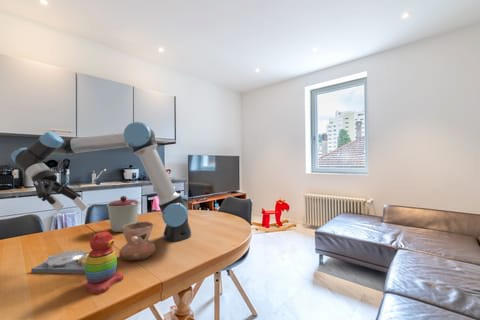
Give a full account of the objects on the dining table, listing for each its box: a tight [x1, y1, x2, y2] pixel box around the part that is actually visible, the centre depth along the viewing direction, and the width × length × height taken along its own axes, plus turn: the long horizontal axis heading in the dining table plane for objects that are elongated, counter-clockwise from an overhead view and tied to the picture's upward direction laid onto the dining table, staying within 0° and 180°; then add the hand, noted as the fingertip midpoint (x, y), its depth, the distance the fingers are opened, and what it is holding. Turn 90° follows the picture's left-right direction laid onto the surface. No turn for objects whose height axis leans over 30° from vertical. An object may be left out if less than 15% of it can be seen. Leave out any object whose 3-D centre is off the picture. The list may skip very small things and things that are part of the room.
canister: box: [106, 195, 140, 233], centre depth 136 cm, size 18×18×21 cm
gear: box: [42, 249, 89, 269], centre depth 91 cm, size 15×15×2 cm
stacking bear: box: [84, 229, 124, 295], centre depth 76 cm, size 11×10×18 cm
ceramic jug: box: [118, 221, 156, 262], centre depth 97 cm, size 18×14×14 cm
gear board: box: [30, 251, 117, 274], centre depth 91 cm, size 24×15×5 cm, turn 87°
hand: (73, 208), depth 92 cm, fingers open, 13 cm apart
